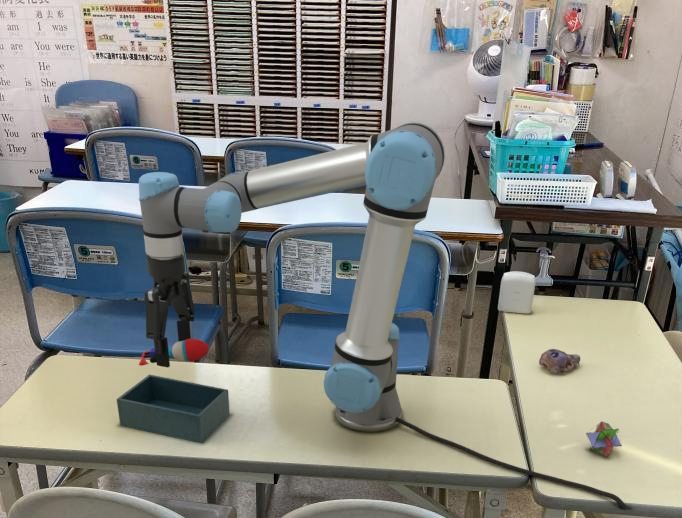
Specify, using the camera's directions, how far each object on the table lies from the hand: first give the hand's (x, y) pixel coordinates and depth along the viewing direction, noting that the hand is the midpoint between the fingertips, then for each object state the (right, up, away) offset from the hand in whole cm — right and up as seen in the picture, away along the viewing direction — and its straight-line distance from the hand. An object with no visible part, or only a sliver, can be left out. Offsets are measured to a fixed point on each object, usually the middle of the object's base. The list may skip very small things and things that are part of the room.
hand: (174, 357), depth 166 cm
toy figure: (0, -1, +1) cm, 1 cm away
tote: (-1, -13, +7) cm, 15 cm away
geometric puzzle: (+93, -21, +1) cm, 95 cm away
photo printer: (+89, +24, +71) cm, 116 cm away
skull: (+94, +2, +36) cm, 101 cm away
